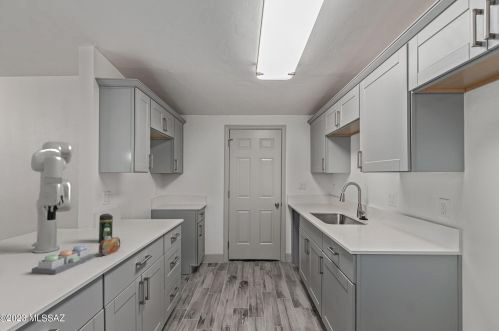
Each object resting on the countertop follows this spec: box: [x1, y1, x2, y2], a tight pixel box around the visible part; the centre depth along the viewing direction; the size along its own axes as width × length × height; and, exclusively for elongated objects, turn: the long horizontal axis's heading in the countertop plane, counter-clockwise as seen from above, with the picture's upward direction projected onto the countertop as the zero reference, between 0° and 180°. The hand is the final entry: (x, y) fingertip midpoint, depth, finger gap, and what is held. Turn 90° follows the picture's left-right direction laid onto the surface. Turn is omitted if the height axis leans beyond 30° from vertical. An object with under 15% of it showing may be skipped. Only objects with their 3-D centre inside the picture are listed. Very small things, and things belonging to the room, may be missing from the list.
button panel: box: [31, 248, 95, 275], centre depth 134 cm, size 25×12×5 cm, turn 173°
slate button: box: [72, 245, 85, 252], centre depth 142 cm, size 5×5×3 cm
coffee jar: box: [98, 213, 114, 244], centre depth 182 cm, size 10×8×19 cm
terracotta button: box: [59, 249, 73, 257], centre depth 134 cm, size 5×5×3 cm
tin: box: [98, 236, 121, 257], centre depth 155 cm, size 15×3×8 cm, turn 168°
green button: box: [44, 254, 59, 262], centre depth 126 cm, size 5×5×3 cm
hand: (51, 219), depth 130 cm, fingers closed
